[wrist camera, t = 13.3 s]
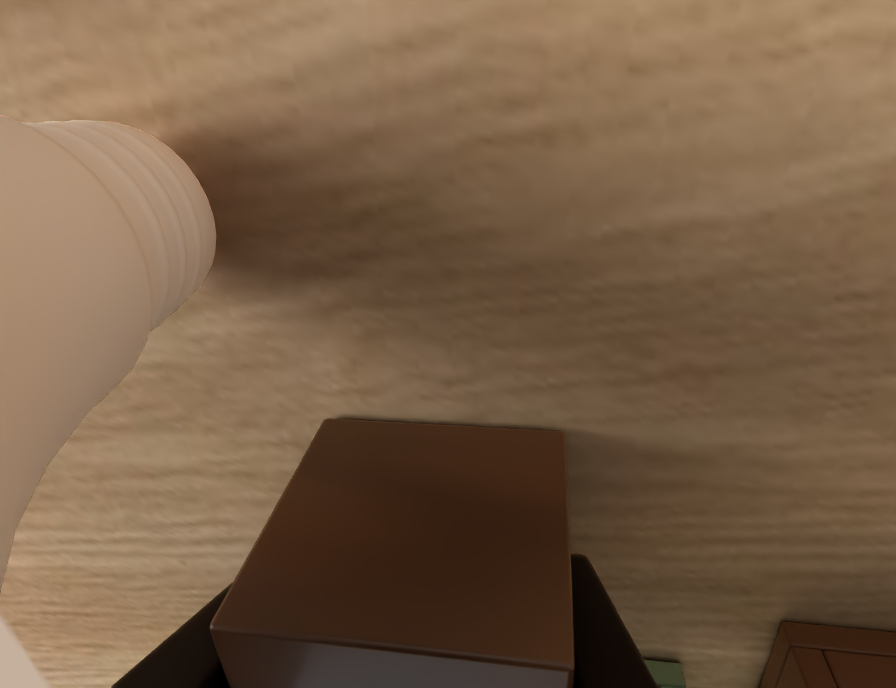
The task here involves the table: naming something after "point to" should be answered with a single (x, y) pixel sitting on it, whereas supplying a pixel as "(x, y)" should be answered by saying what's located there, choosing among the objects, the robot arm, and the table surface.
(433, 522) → the block
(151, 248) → the lightbulb
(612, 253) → the table surface
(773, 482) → the table surface
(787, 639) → the walnut tray
